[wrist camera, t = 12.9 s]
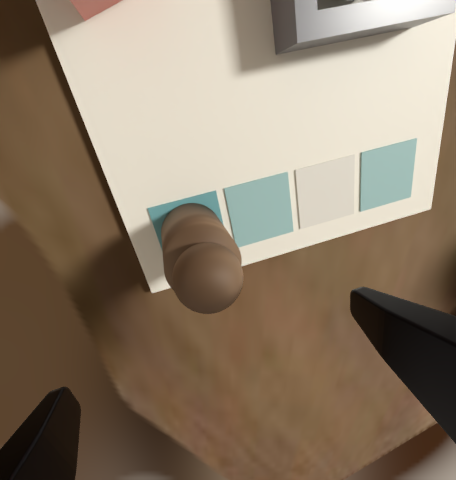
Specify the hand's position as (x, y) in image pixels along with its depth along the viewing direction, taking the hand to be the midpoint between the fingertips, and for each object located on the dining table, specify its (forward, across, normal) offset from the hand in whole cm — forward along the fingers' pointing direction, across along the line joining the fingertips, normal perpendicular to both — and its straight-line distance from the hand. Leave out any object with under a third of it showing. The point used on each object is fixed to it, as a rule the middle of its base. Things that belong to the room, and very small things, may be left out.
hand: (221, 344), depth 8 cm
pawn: (+9, 0, 0) cm, 9 cm away
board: (+10, -7, -6) cm, 14 cm away
